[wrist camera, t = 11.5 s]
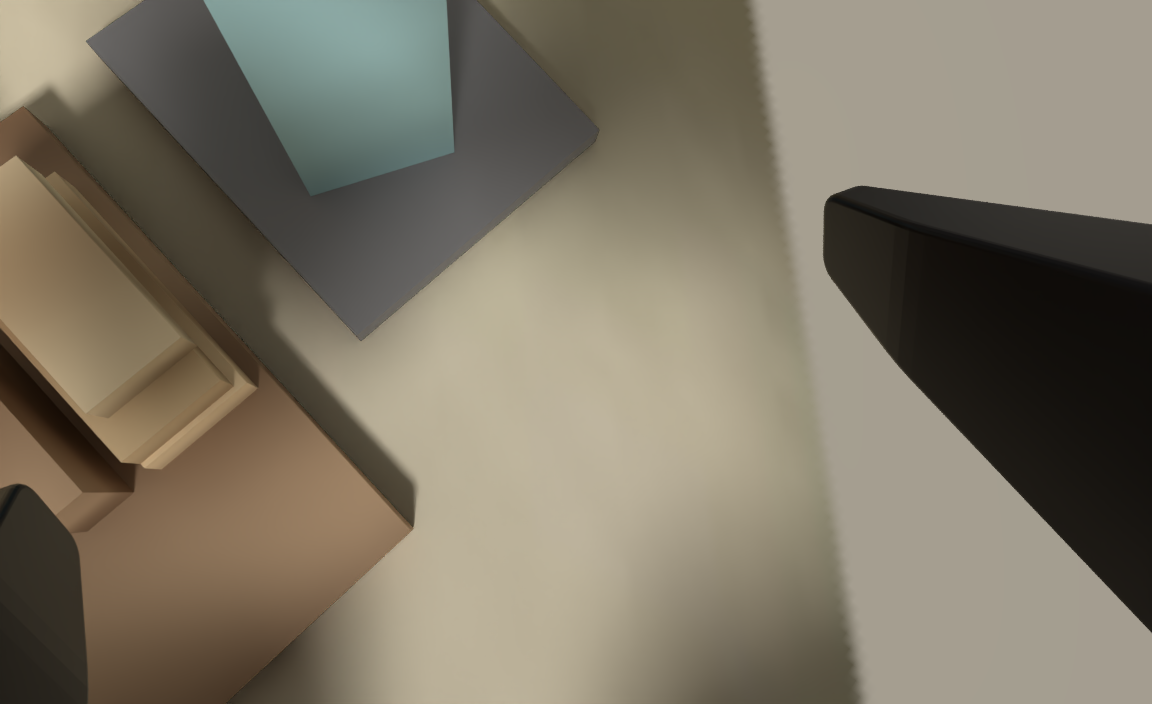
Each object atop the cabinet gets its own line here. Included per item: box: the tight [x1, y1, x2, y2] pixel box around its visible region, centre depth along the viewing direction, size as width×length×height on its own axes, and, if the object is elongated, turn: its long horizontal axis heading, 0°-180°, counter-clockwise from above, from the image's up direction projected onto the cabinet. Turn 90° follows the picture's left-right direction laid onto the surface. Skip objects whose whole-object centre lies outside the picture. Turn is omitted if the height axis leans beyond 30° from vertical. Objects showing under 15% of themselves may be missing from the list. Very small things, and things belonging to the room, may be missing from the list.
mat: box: [86, 0, 599, 341], centre depth 17 cm, size 8×7×1 cm
